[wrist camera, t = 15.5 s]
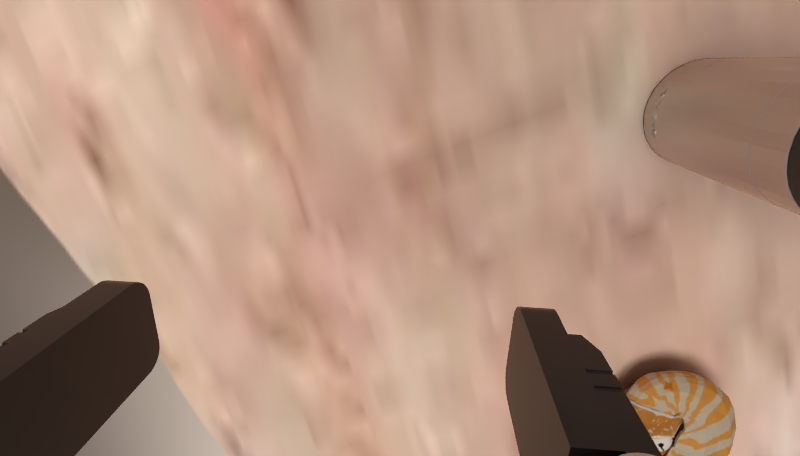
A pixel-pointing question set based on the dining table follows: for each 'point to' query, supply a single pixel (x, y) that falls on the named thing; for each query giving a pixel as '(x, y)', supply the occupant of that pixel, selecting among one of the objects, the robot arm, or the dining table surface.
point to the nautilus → (684, 413)
